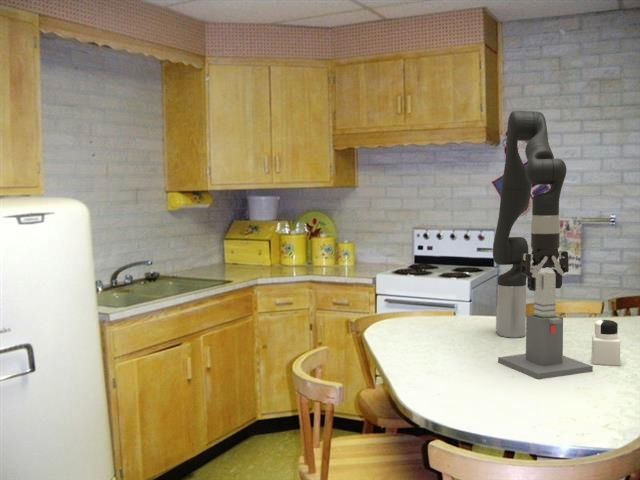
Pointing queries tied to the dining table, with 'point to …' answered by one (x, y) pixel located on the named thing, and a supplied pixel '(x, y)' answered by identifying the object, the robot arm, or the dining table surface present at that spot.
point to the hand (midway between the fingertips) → (544, 289)
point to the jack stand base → (544, 351)
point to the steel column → (545, 295)
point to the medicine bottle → (606, 343)
